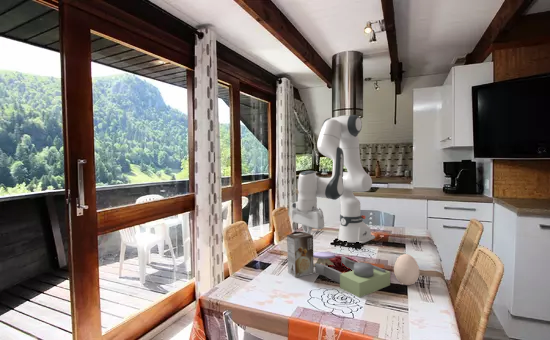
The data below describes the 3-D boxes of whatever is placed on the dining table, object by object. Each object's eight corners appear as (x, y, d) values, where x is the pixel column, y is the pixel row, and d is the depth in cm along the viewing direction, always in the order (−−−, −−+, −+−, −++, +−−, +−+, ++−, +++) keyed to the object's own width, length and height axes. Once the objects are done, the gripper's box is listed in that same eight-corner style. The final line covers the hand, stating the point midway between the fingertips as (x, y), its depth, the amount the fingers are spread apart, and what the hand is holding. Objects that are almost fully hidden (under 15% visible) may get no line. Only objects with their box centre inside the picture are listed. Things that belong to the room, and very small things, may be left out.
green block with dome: (370, 276, 116) (370, 257, 116) (390, 285, 108) (390, 264, 108) (340, 287, 107) (339, 266, 106) (359, 297, 99) (359, 274, 99)
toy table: (335, 263, 131) (335, 251, 131) (335, 271, 122) (335, 258, 122) (313, 262, 133) (313, 249, 133) (311, 269, 124) (311, 256, 124)
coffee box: (305, 268, 126) (305, 231, 125) (314, 273, 120) (313, 235, 119) (287, 272, 121) (286, 234, 121) (295, 278, 116) (294, 238, 115)
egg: (390, 279, 113) (390, 250, 113) (412, 279, 113) (413, 250, 113) (399, 289, 105) (399, 258, 104) (423, 289, 104) (423, 258, 104)
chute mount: (343, 264, 130) (343, 255, 129) (371, 276, 116) (371, 266, 116) (314, 273, 120) (314, 263, 120) (342, 286, 107) (342, 276, 107)
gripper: (327, 208, 129) (327, 238, 129) (299, 202, 146) (299, 229, 146) (316, 209, 125) (316, 241, 126) (289, 203, 142) (289, 231, 143)
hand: (307, 234), depth 136 cm, fingers closed
